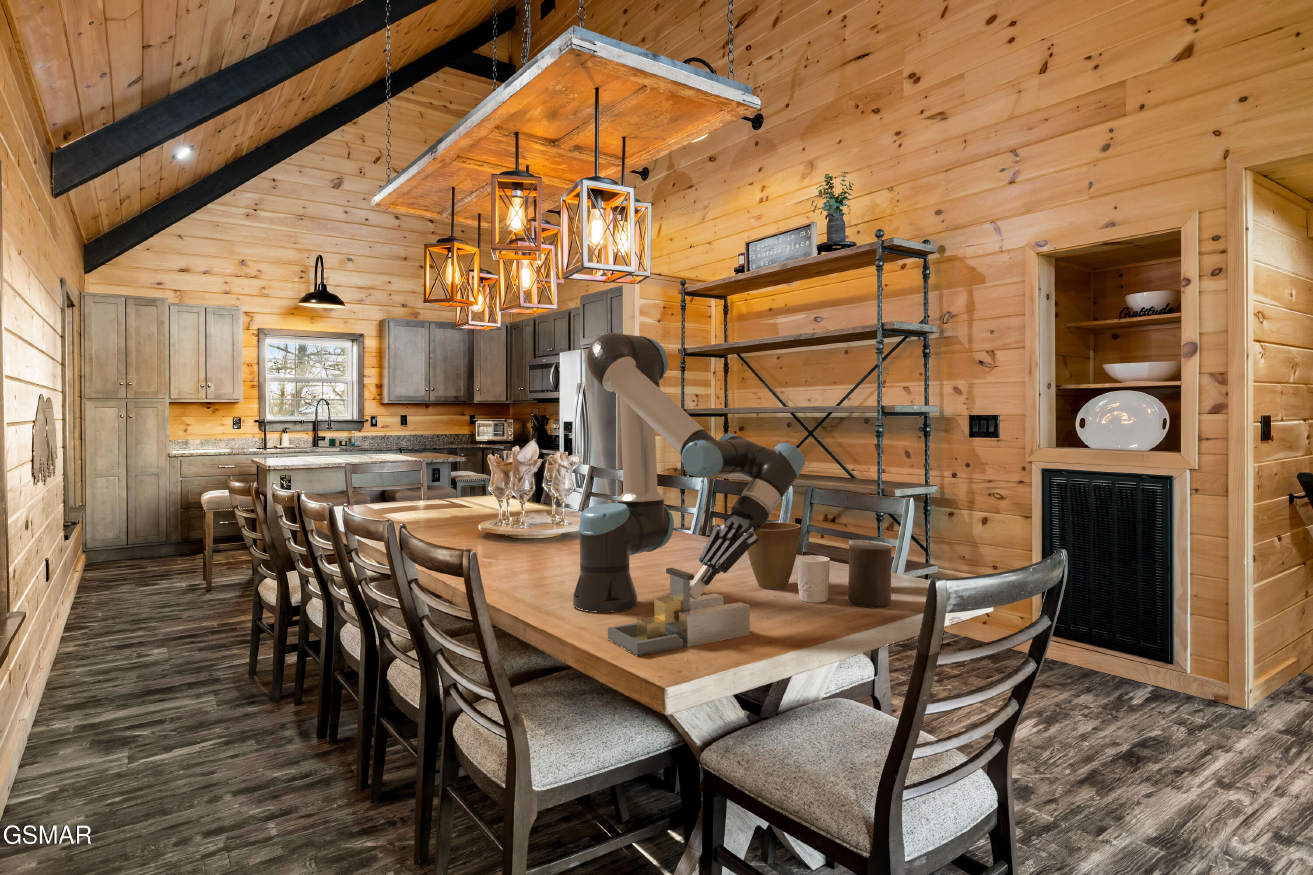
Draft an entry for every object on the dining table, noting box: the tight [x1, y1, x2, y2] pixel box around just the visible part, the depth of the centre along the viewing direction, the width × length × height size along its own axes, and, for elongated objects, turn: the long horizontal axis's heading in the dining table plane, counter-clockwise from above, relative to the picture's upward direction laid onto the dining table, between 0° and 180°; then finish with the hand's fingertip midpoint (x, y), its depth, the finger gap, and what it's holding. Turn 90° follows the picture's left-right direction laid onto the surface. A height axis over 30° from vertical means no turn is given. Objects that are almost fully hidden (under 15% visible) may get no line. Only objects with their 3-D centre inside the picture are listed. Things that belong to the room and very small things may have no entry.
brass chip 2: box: [653, 595, 682, 623], centre depth 144 cm, size 4×4×4 cm
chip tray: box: [607, 622, 684, 657], centre depth 141 cm, size 10×12×2 cm
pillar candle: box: [847, 539, 892, 608], centre depth 172 cm, size 10×10×15 cm
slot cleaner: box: [665, 567, 695, 612], centre depth 145 cm, size 2×8×9 cm, turn 31°
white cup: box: [796, 554, 831, 604], centre depth 175 cm, size 8×8×10 cm
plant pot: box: [746, 521, 801, 590], centre depth 190 cm, size 15×15×16 cm
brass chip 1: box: [636, 615, 665, 641], centre depth 142 cm, size 4×4×4 cm
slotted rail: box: [665, 593, 751, 648], centre depth 148 cm, size 15×12×6 cm
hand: (691, 595), depth 145 cm, fingers closed
